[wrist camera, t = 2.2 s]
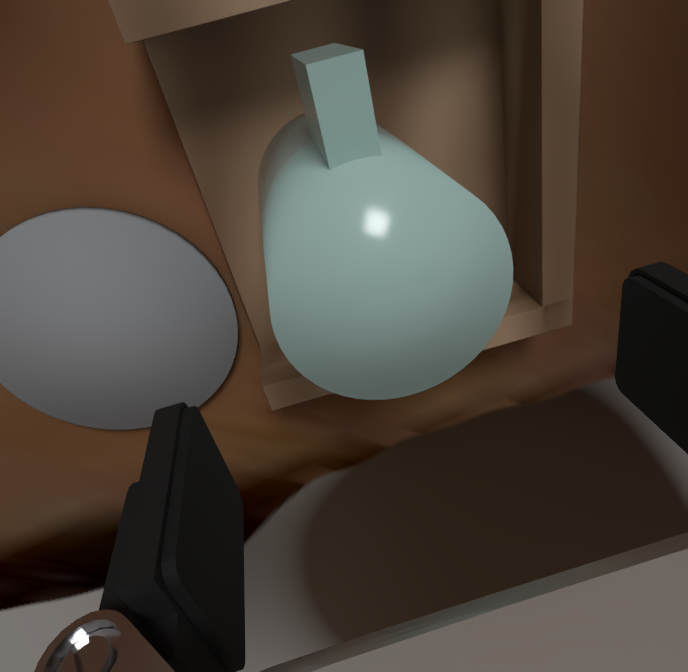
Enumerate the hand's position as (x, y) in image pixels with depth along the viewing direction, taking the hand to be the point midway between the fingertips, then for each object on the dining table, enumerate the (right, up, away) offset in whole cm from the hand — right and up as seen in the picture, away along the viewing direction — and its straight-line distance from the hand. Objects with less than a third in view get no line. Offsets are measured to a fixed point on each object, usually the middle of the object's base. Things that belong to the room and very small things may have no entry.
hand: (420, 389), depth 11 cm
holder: (0, +9, +12) cm, 15 cm away
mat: (-13, +2, +14) cm, 19 cm away
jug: (-2, +9, +11) cm, 14 cm away
